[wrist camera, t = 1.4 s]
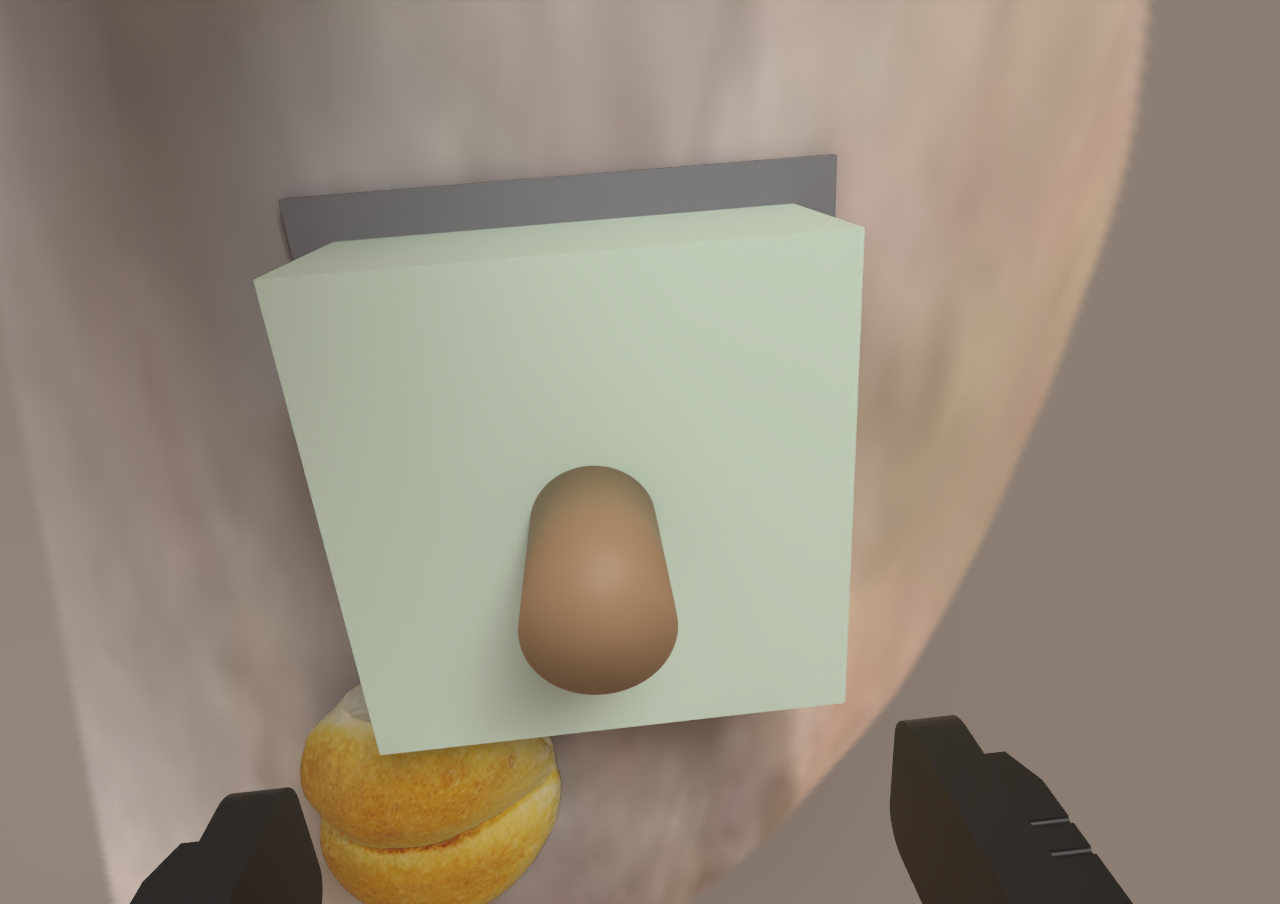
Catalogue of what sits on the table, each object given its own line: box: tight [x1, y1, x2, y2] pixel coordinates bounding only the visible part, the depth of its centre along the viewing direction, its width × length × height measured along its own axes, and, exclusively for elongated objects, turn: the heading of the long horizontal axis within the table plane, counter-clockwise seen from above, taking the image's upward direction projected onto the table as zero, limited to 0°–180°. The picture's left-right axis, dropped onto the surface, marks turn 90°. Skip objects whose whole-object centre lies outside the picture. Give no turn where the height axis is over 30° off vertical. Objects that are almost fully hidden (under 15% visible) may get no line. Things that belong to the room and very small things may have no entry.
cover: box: [253, 203, 865, 755], centre depth 18 cm, size 12×12×9 cm
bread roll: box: [300, 684, 562, 904], centre depth 25 cm, size 8×9×4 cm
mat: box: [278, 154, 837, 261], centre depth 22 cm, size 14×14×1 cm
